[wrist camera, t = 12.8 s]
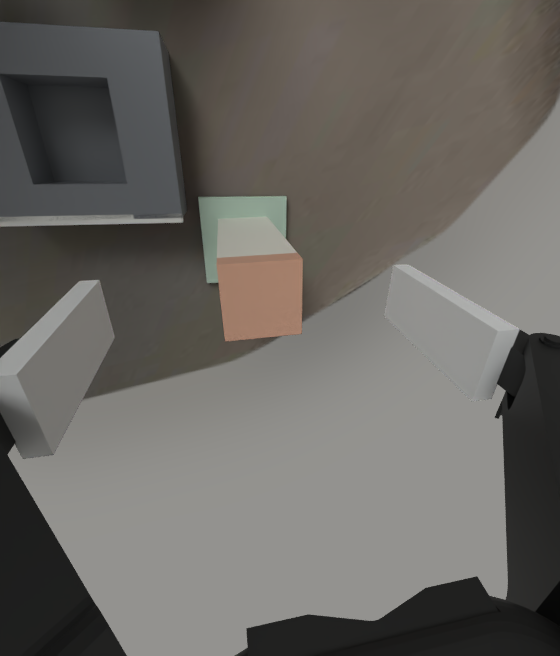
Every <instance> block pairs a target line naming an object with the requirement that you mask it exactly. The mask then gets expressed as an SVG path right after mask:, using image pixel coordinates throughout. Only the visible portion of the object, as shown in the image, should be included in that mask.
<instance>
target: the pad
mask: <svg viewBox="0 0 560 656" xmlns="http://www.w3.org/2000/svg"><path fill="white" fill-rule="evenodd" d="M286 198H287V197H286V196H232V197H198V201H199V211H200V220H201V230H202V240H203V250H204V259H205V269H206V279H207V283H218V274H217V265H216V264H217V234H218V219H225V218H246V217H268V218H269V219H270V221H271V222H272V223H273V224H274V225H275V227H276V228H277V229H278V230H279V231H280V233H281V234H282V235H283V236H284V237H285V239H286Z"/></svg>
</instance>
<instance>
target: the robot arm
mask: <svg viewBox="0 0 560 656" xmlns="http://www.w3.org/2000/svg"><path fill="white" fill-rule="evenodd" d="M384 317H385V318H386V319H387V320H388V321H389V322H390V323H391V324H392V325H393V326H394V327H395V328H397V330H398V331H399V332H401V333H402V334H403V335H404V336H405V337H406V338H407V339H408V340H409V341H410V342H411V343H412V344H413V345H414V346H415V347H416V348H417V349H418V350H419V351H420V352H421V353H422V354H423V355H424V356H425V357H426V358H427V359H428V360H430V361H431V362H432V363H433V364H434V365H435V366H436V367H437V368H438V369H439V370H440V371H441V372H442V373H443V374H444V375H445V376H446V377H447V378H448V379H449V380H450V381H451V382H452V383H453V384H454V385H455V386H457V387H458V388H459V389H460V390H461V391H462V392H463V393H464V394H465V395H466V396H467V397H468V398H469V399H470V400H471V401H479V400H486V399H492V396H493V393H494V391H495V389H496V386H497V384H498V385H500V386H501V387H502V388H503V389H504V390H506V392H505V395H504V397H503V399H502V402H501V404H500V406H499V409H498V411H497V413H496V416H495V418H499V417H500V415H502V416H503V446H504V475H505V503H506V504H505V506H506V536H507V563H508V591H507V597H506V600H503V599H500V598H496V597H492V596H489V595H488V593H487V592H486V590H485V588H484V587H483V585H482V584H481V582H480V580H479V579H478V577H473V578H468V579H464V580H459V581H455V582H451V583H446V584H441V585H437V586H433V587H428V588H425V589H424V590H422V591H421V592H419V593H418V594H416V595H415V596H413V597H412V598H411V599H409V600H407V601H406V602H404V603H403V604H401V605H400V606H398V607H397V608H396V609H394V610H393V611H391V612H390V613H388V614H387V615H385V616H384V617H382V618H381V619H379V620H376V621H364V620H355V619H345V618H336V617H326V616H317V615H304V616H300V617H296V618H291V619H286V620H282V621H278V622H273V623H269V624H265V625H260V626H255V627H251V628H247V643H248V648H247V649H245V650H243V651H242V652H240V653H238V654H237V655H235V656H560V336H557V335H552V334H546V333H534V334H531V335H528V334H527V333H525V332H523V331H521V330H520V329H519V328H517V327H515V326H513V325H512V324H510V323H508V322H506V321H505V320H503V319H501V318H499V317H498V316H496V315H495V314H493V313H491V312H489V311H488V310H486V309H484V308H482V307H481V306H479V305H477V304H476V303H474V302H472V301H470V300H469V299H467V298H465V297H463V296H462V295H460V294H458V293H456V292H455V291H453V290H451V289H449V288H448V287H446V286H444V285H443V284H441V283H439V282H438V281H436V280H434V279H432V278H431V277H429V276H427V275H425V274H424V273H422V272H420V271H419V270H417V269H415V268H413V267H412V266H410V265H408V264H405V265H393V270H392V275H391V281H390V286H389V292H388V297H387V303H386V309H385V315H384ZM114 338H115V336H114V332H113V329H112V325H111V321H110V318H109V314H108V310H107V306H106V303H105V299H104V295H103V291H102V288H101V284H100V280H88V281H79V282H78V283H77V284H76V285H75V286H74V287H73V288H72V289H71V290H70V291H69V292H68V293H67V294H66V295H65V296H63V297H62V298H61V299H60V300H59V301H58V302H57V303H56V304H55V305H54V306H53V307H52V308H51V309H50V310H49V311H48V312H47V313H46V314H45V315H44V316H43V317H42V318H41V319H40V320H39V321H38V322H37V323H36V324H35V325H34V326H33V327H32V328H31V329H30V330H29V331H28V332H27V333H26V334H25V335H23V336H22V337H21V338H20V339H15V340H13V341H11V342H9V343H7V344H5V345H4V346H2V347H0V656H127V655H126V654H125V652H124V651H123V649H122V647H121V645H120V644H119V642H118V641H117V639H116V637H115V635H114V633H113V632H112V630H111V628H110V627H109V625H108V623H107V622H106V620H105V618H104V617H103V615H102V614H101V612H100V610H99V609H98V607H97V606H96V604H95V603H94V601H93V600H92V598H91V596H90V595H89V593H88V591H87V589H86V588H85V586H84V584H83V583H82V581H81V579H80V578H79V576H78V574H77V573H76V571H75V569H74V567H73V566H72V564H71V562H70V561H69V559H68V557H67V555H66V554H65V552H64V551H63V549H62V547H61V545H60V544H59V542H58V540H57V539H56V537H55V535H54V533H53V532H52V530H51V528H50V527H49V525H48V523H47V522H46V520H45V518H44V516H43V515H42V513H41V511H40V510H39V508H38V506H37V505H36V503H35V501H34V500H33V498H32V496H31V495H30V493H29V491H28V489H27V488H26V486H25V484H24V482H23V481H22V480H21V477H20V476H19V474H18V472H17V471H16V469H15V467H14V465H13V464H12V462H11V460H10V459H9V457H8V455H7V454H8V453H9V451H10V450H11V448H12V447H13V445H14V444H15V445H16V447H17V449H18V451H19V453H20V455H21V456H22V458H23V459H26V458H34V457H41V456H49V455H54V453H55V451H56V449H57V447H58V445H59V443H60V441H61V439H62V437H63V435H64V434H65V432H66V430H67V428H68V426H69V424H70V422H71V420H72V418H73V416H74V415H75V413H76V410H77V409H78V407H79V405H80V403H81V401H82V399H83V397H84V395H85V394H86V392H87V390H88V388H89V386H90V384H91V382H92V380H93V378H94V376H95V374H96V373H97V371H98V369H99V367H100V365H101V363H102V361H103V359H104V357H105V355H106V353H107V352H108V350H109V348H110V346H111V344H112V342H113V340H114Z"/></svg>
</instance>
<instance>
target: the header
mask: <svg viewBox="0 0 560 656" xmlns="http://www.w3.org/2000/svg"><path fill="white" fill-rule="evenodd" d="M186 211H187V204H186V196H185V187H184V179H183V170H182V162H181V153H180V145H179V137H178V128H177V120H176V111H175V103H174V95H173V86H172V78H171V69H170V61H169V52H168V50H167V48H166V46H165V44H164V42H163V39H162V37H161V35H160V33H159V31H147V30H131V29H114V28H97V27H81V26H64V25H47V24H31V23H14V22H0V227H5V226H50V225H95V224H141V223H183V221H184V220H183V216H184V215H185V213H186Z"/></svg>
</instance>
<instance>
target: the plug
mask: <svg viewBox="0 0 560 656" xmlns="http://www.w3.org/2000/svg"><path fill="white" fill-rule="evenodd" d="M216 265H217V274H218V283H219V292H220V300H221V309H222V318H223V327H224V336H225V341H235V340H245V339H255V338H265V337H276V336H286V335H296V334H302V271H303V259H302V258H301V257H300V255H299V254H298V253H297V252H296V251H295V249H294V248H293V247H292V246H291V245H290V243H289V242H288V241H287V240H286V239H285V237H284V236H283V235H282V234H281V233H280V231H279V230H278V229H277V228H276V227H275V225H274V224H273V223H272V222H271V221H270V219H269V218H268V217H246V218H225V219H218V234H217V264H216Z"/></svg>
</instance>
